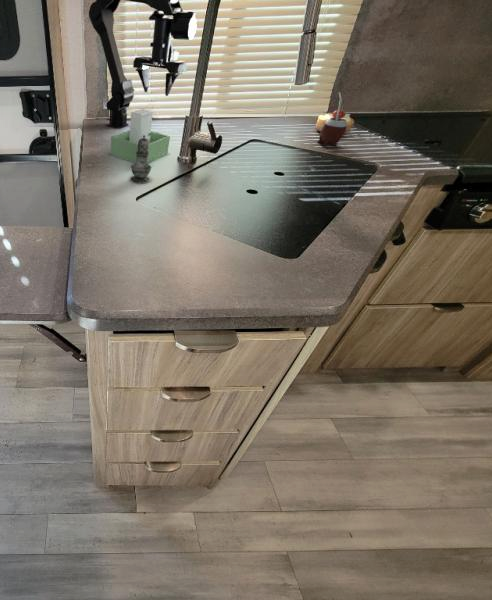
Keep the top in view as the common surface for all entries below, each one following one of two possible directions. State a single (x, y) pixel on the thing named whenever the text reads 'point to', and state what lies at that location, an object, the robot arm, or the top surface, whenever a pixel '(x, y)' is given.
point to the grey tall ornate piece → (141, 163)
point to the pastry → (325, 117)
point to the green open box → (128, 149)
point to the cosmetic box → (140, 125)
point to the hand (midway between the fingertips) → (156, 93)
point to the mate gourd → (333, 129)
